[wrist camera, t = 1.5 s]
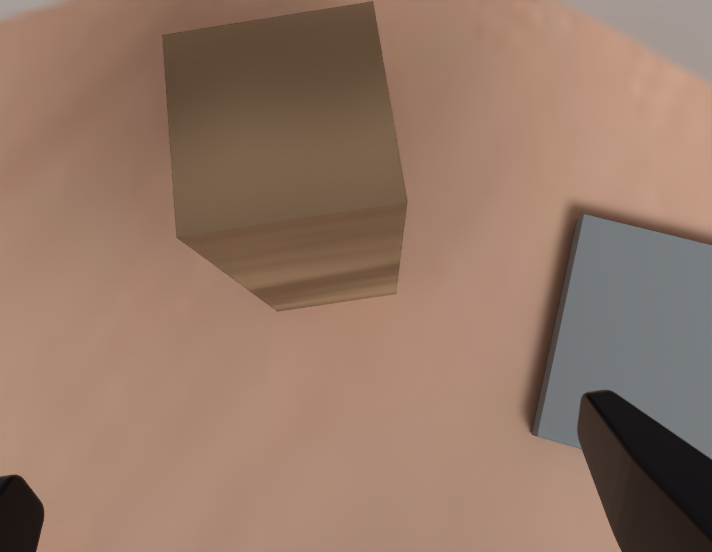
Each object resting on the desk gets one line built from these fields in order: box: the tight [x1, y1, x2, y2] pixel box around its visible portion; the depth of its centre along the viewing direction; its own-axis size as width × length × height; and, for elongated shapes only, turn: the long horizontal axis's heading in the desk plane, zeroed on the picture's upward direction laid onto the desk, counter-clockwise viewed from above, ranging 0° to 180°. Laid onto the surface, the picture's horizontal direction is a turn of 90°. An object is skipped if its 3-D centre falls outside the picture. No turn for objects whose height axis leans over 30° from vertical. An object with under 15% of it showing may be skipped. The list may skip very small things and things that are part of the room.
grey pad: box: [532, 214, 712, 459], centre depth 20 cm, size 9×9×1 cm
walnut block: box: [162, 1, 407, 311], centre depth 17 cm, size 5×5×11 cm
